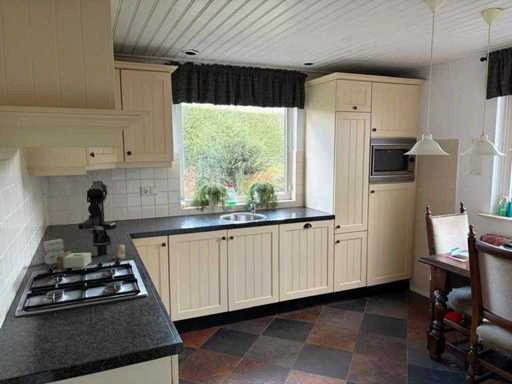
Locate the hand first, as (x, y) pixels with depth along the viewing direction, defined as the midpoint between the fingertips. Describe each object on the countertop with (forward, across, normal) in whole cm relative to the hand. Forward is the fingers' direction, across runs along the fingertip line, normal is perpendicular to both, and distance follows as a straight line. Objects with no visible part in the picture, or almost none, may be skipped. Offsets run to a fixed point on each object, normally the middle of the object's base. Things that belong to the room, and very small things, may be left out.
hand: (98, 242), depth 197 cm
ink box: (+12, -29, +2) cm, 32 cm away
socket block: (+11, -9, -6) cm, 15 cm away
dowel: (+12, +6, +11) cm, 17 cm away
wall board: (+12, 0, -3) cm, 12 cm away
